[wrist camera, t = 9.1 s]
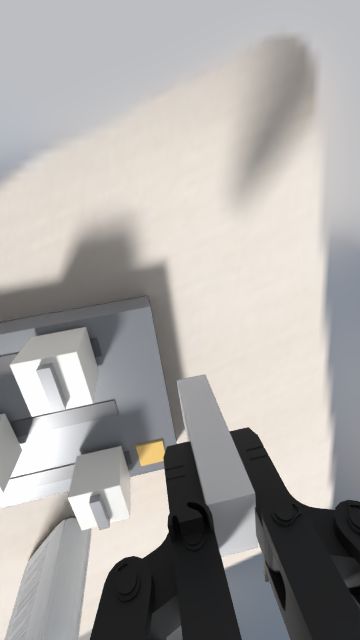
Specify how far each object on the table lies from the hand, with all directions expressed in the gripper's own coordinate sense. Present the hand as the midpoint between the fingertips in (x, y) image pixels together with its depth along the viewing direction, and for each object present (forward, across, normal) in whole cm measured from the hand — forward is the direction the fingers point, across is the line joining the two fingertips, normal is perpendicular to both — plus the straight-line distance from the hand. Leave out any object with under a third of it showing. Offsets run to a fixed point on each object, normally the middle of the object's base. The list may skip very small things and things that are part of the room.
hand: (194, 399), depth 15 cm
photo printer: (+12, -17, -26) cm, 34 cm away
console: (+12, -12, -6) cm, 18 cm away
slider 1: (+8, -8, 0) cm, 12 cm away
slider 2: (+8, -8, -12) cm, 17 cm away
